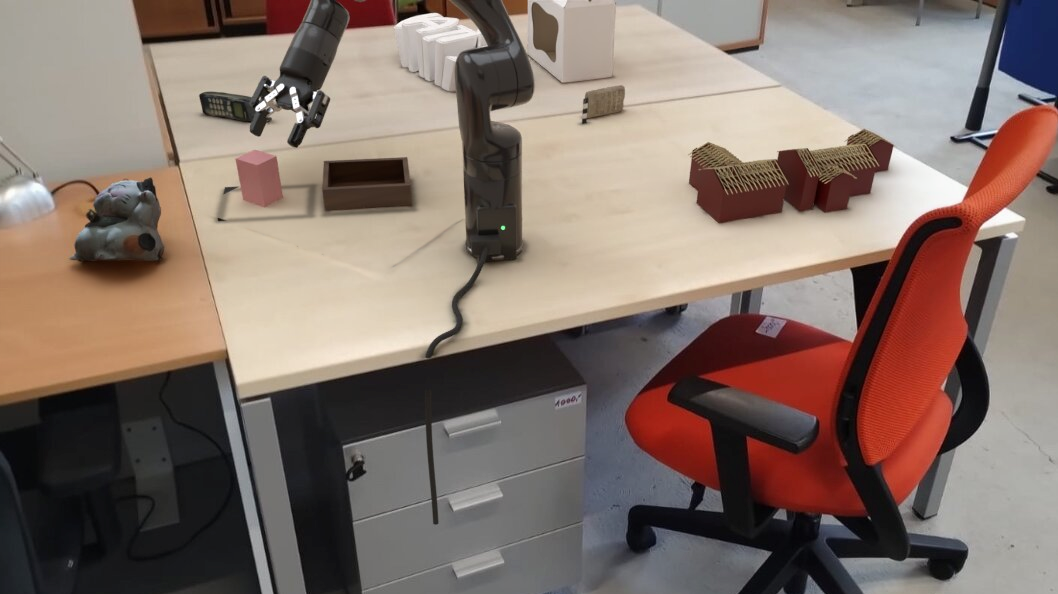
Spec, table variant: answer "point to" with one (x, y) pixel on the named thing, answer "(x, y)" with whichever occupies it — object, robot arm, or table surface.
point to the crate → (366, 184)
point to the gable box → (572, 37)
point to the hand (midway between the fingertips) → (273, 140)
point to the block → (259, 178)
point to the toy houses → (787, 177)
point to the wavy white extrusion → (434, 46)
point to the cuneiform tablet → (603, 102)
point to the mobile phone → (227, 106)
